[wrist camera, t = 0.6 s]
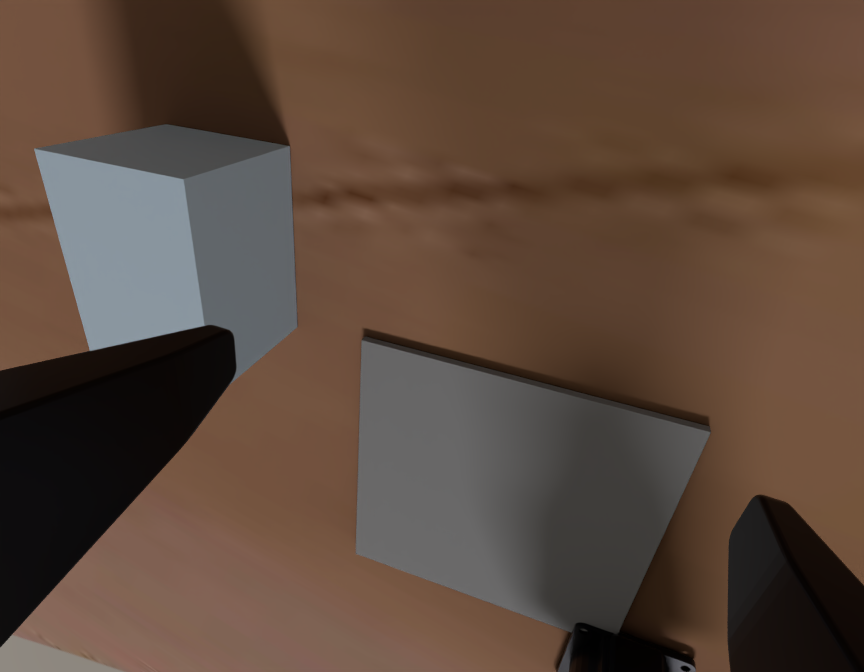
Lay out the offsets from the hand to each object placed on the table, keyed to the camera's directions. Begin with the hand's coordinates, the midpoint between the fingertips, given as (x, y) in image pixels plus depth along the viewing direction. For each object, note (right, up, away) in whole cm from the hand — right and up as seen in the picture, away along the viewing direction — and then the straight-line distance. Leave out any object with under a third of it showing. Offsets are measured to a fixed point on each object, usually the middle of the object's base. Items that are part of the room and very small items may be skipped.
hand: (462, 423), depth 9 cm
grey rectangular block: (-10, +7, +17) cm, 21 cm away
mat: (+3, -7, +20) cm, 21 cm away
